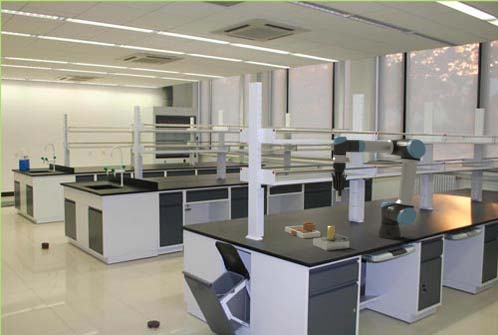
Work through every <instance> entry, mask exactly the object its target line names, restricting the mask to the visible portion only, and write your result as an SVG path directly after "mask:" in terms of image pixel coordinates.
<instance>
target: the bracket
mask: <svg viewBox="0 0 498 335" xmlns="http://www.w3.org/2000/svg"><path fill="white" fill-rule="evenodd" d="M302 226H303V229H294V230H297V231H299V232H302V233H311V232H312V230H316V223H314V222H310V221H309V222H306V221H305V222H303V223H302ZM294 230H291V233H290V234H291V236H295V237H298V236H297V232H296V231H294Z"/></svg>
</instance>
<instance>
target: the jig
mask: <svg viewBox="0 0 498 335" xmlns="http://www.w3.org/2000/svg"><path fill="white" fill-rule="evenodd" d="M312 238H313V239H312V245H313V246H314V247H317V248H319V249H323V250H324V251H335V250H341V249H349V248H350V237H348V236H346V235H343V234H341V233H340V234H339V233H336V232H335V241H329V240H327V236H323V237H321V236H320V237H312Z"/></svg>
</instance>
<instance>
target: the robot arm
mask: <svg viewBox="0 0 498 335" xmlns="http://www.w3.org/2000/svg"><path fill="white" fill-rule="evenodd" d="M332 146H333V149H332V150H333V153H332V155H333V157H332V158H333V160H332V161H333V163H332V169H334V170H333V172H331V173H330V174H331V177H332V186H333V190H335V202H336V203H337V202H340V203H341V202H342V194H343V193H342V192H343V191H344V190H345V186H346V181H347V178H348V174H346V173H345V169H346V167H347V165H346V164H347V163H346V162H347V153H371V154H373V153H375V154H376V153H378V154H386V155H389V156H397V157H400V160H401V163H402V165H401V172H400V173H401V174H400V181H399V188H398V193H397V194H398V196H397V200H396V201H383V202H382V203H381V206H380V225H379V229H378V231H377V237H378V238H383V239H388V240H390V239H392V240H396V239H397V240H398V239H402V237H403V235H402V231H401V227H400V226H405V227H409V226H411V225H412V224H414V223H415V221H416V219H417V217H418V216H417V211H416V210H415V209H414V208H415V203H414V202H413V196H414V190H415V183H416V175H417V169H418V168H417V167H418V164H419V163H420V162H421V159H422V157H424V156H425V154H426V145H425V143H424V142H423V141H422V140H421V139H417V138H399V139H387V140H386V141H384V140H363V139H348V138H347V136H341V135H340V136H339V135H338V136H336V135H335V136H334V137H333V143H332Z"/></svg>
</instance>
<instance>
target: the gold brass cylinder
mask: <svg viewBox="0 0 498 335" xmlns="http://www.w3.org/2000/svg"><path fill="white" fill-rule="evenodd" d="M335 233H336V226H335V225H327V234H326V235H327V236H326V237H327V240H329V241H335Z"/></svg>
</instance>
